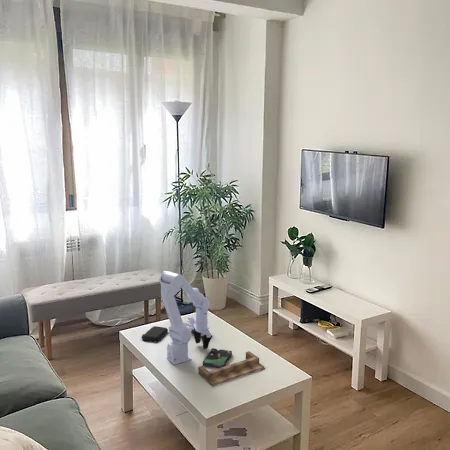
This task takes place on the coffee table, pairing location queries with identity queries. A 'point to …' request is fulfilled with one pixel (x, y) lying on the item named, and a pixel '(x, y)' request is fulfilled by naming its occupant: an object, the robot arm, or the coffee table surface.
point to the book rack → (231, 370)
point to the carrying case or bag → (154, 334)
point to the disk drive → (217, 358)
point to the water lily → (191, 322)
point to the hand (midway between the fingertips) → (201, 345)
